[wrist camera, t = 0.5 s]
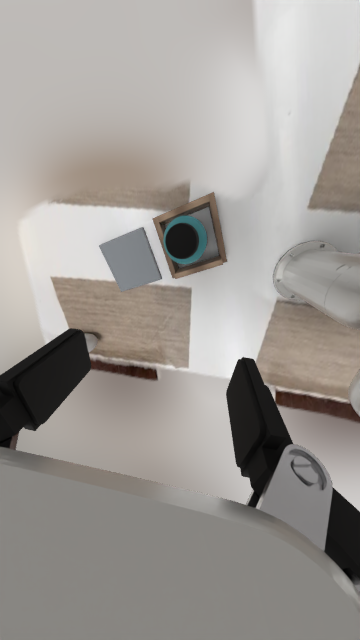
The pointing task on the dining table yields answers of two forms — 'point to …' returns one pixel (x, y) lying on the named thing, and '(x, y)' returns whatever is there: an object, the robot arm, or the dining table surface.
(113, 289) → the dining table surface
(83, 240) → the dining table surface
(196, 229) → the beverage bottle
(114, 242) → the slate mat
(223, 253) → the brown wooden open box
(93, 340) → the donut
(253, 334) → the dining table surface
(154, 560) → the robot arm
